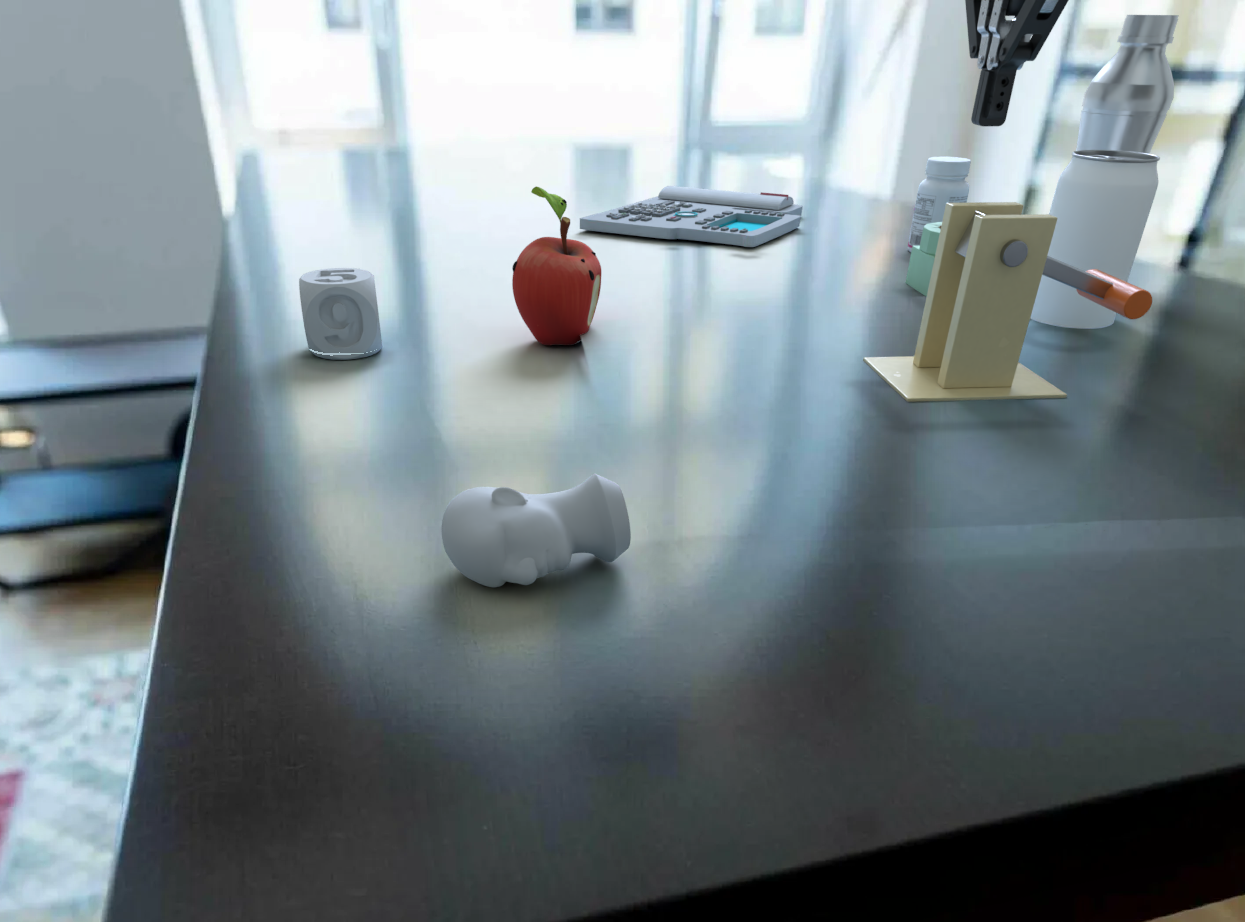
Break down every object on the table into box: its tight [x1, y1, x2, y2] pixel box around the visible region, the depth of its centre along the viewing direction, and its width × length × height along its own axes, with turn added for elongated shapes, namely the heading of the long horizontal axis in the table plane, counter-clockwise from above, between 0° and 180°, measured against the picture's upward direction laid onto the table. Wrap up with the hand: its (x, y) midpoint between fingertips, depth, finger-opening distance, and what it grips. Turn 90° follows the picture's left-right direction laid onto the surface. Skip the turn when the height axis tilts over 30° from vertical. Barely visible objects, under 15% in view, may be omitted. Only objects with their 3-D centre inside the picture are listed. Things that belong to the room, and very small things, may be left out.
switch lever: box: [955, 211, 1153, 320], centre depth 56 cm, size 11×6×2 cm, turn 95°
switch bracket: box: [862, 201, 1068, 403], centre depth 57 cm, size 10×8×11 cm
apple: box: [511, 185, 602, 346], centre depth 66 cm, size 8×7×10 cm
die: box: [298, 267, 383, 361], centre depth 65 cm, size 5×5×5 cm
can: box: [1030, 150, 1161, 330], centre depth 68 cm, size 6×6×12 cm
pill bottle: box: [907, 156, 972, 253], centre depth 92 cm, size 5×5×8 cm
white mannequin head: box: [441, 473, 632, 588], centre depth 39 cm, size 4×8×5 cm
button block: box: [905, 222, 942, 297], centre depth 80 cm, size 9×8×5 cm
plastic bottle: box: [1075, 14, 1180, 154], centre depth 77 cm, size 6×7×20 cm
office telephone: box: [579, 185, 803, 248], centre depth 105 cm, size 23×3×20 cm
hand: (986, 124), depth 75 cm, fingers closed
